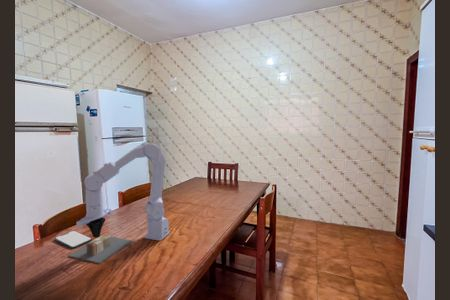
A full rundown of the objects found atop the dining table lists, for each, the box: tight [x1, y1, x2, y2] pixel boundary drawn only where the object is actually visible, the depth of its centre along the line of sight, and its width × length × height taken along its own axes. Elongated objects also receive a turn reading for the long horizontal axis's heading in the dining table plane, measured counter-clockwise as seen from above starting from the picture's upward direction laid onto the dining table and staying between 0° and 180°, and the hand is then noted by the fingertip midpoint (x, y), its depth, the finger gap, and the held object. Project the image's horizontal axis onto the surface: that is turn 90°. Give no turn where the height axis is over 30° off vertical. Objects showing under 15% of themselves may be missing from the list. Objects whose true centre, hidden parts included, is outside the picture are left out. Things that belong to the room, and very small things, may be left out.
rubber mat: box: [68, 236, 133, 265], centre depth 91 cm, size 16×17×1 cm
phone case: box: [54, 230, 93, 250], centre depth 98 cm, size 9×2×16 cm
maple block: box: [85, 234, 111, 255], centre depth 90 cm, size 4×4×8 cm
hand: (96, 236), depth 88 cm, fingers closed
